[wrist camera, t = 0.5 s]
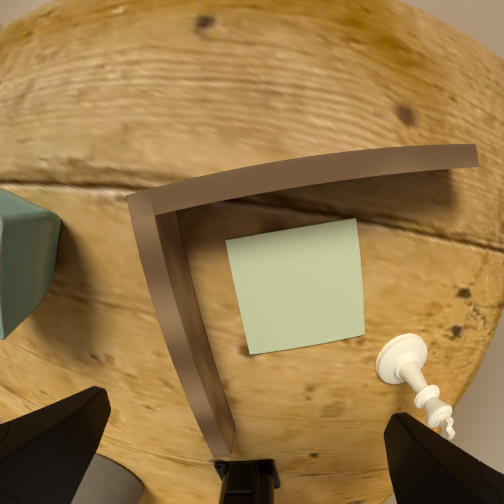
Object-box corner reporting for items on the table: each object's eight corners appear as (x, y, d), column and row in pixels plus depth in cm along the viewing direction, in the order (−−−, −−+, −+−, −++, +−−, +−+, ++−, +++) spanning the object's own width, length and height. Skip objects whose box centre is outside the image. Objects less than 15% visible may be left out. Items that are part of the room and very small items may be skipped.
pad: (363, 333, 21) (364, 334, 21) (250, 353, 22) (249, 354, 21) (355, 217, 19) (355, 218, 19) (225, 240, 20) (224, 240, 20)
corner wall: (440, 382, 22) (457, 405, 18) (219, 426, 24) (213, 456, 20) (444, 148, 17) (475, 144, 13) (151, 192, 19) (126, 195, 15)
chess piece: (374, 386, 22) (411, 470, 12) (375, 341, 21) (425, 426, 11) (422, 371, 22) (471, 443, 12) (426, 326, 21) (491, 395, 11)
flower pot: (85, 202, 20) (1, 217, 11) (69, 299, 22) (3, 344, 13) (20, 176, 19) (-53, 182, 11) (10, 262, 21) (-53, 289, 13)
